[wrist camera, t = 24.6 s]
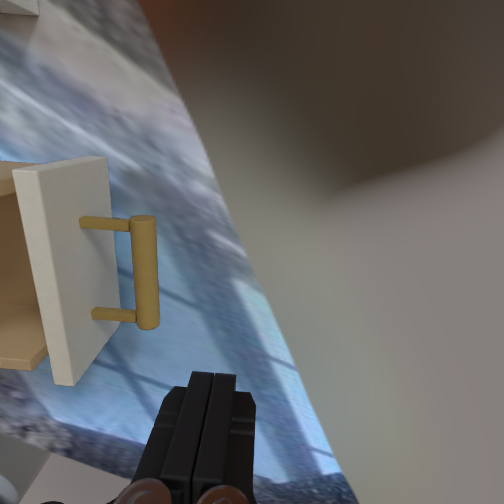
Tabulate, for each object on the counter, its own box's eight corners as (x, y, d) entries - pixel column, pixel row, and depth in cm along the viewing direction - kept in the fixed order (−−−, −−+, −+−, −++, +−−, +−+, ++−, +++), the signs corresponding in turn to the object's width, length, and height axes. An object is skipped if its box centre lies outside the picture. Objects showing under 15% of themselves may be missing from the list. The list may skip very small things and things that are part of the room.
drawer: (172, 161, 21) (131, 178, 14) (176, 326, 25) (145, 393, 19) (-115, 140, 21) (-280, 146, 15) (-60, 306, 26) (-168, 366, 19)
